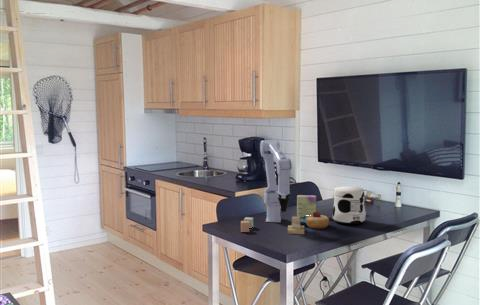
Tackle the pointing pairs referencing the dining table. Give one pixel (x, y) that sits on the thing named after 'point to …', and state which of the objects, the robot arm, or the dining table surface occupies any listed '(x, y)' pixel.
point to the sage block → (249, 221)
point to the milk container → (349, 205)
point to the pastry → (317, 221)
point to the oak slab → (295, 230)
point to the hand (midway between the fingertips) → (283, 209)
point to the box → (306, 205)
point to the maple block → (295, 222)
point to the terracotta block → (244, 226)
